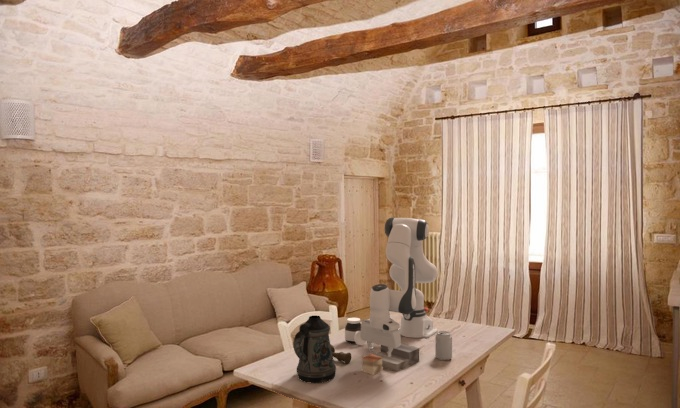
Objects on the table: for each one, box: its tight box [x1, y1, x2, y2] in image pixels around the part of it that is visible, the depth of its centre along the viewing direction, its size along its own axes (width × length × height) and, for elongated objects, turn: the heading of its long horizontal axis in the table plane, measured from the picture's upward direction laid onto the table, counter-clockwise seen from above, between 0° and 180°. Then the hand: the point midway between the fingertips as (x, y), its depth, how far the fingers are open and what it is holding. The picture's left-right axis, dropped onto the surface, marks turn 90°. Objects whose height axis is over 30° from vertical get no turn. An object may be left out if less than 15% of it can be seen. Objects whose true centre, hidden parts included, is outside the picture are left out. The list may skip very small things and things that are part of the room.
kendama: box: [330, 343, 352, 365], centre depth 219 cm, size 6×10×20 cm
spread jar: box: [344, 317, 367, 346], centre depth 244 cm, size 12×11×12 cm
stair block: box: [372, 343, 420, 372], centre depth 215 cm, size 17×16×6 cm
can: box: [434, 330, 453, 361], centre depth 220 cm, size 8×8×12 cm
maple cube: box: [362, 353, 383, 375], centre depth 205 cm, size 6×6×6 cm
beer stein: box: [292, 315, 337, 384], centre depth 198 cm, size 16×19×25 cm
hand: (379, 353), depth 208 cm, fingers open, 8 cm apart
